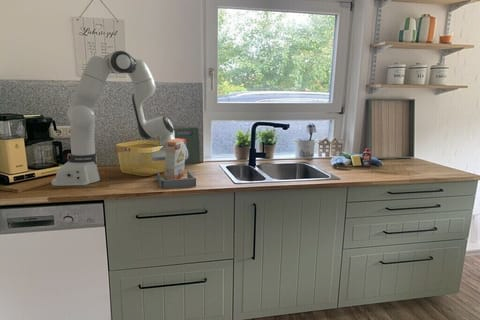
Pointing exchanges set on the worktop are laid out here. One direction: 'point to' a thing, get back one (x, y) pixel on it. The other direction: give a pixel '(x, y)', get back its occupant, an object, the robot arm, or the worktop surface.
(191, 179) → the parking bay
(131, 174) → the worktop surface
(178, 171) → the cracker box
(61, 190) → the worktop surface
